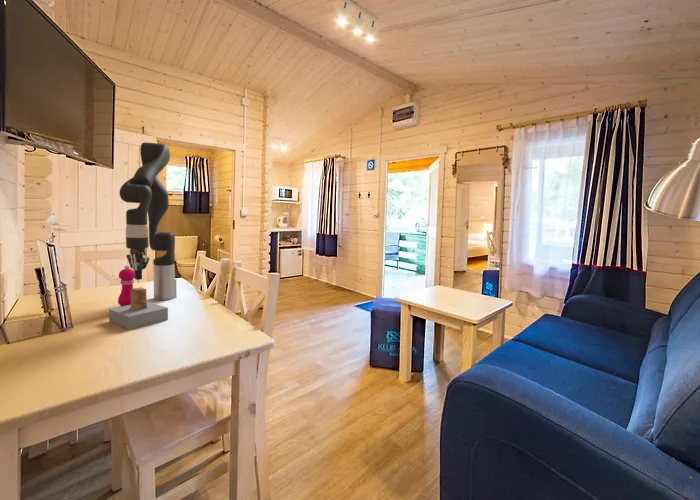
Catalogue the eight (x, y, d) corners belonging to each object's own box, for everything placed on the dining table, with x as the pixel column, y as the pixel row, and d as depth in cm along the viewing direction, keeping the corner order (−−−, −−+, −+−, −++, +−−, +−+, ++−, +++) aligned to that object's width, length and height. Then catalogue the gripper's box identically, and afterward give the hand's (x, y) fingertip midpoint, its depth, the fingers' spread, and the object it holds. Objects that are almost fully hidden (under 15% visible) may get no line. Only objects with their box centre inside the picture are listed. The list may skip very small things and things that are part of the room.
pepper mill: (122, 313, 146) (120, 267, 144) (115, 310, 150) (114, 265, 148) (140, 310, 152) (139, 265, 149) (133, 307, 156) (132, 263, 154)
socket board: (148, 312, 149) (147, 301, 148) (167, 319, 141) (167, 307, 141) (109, 321, 136) (108, 309, 136) (129, 329, 129) (128, 316, 128)
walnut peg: (141, 315, 142) (141, 287, 140) (147, 317, 139) (146, 288, 138) (131, 318, 138) (130, 289, 137) (136, 320, 136) (135, 290, 135)
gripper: (156, 237, 135) (156, 280, 137) (138, 234, 142) (139, 275, 143) (136, 237, 128) (137, 283, 130) (118, 235, 135) (119, 278, 137)
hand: (138, 279), depth 137 cm, fingers closed
